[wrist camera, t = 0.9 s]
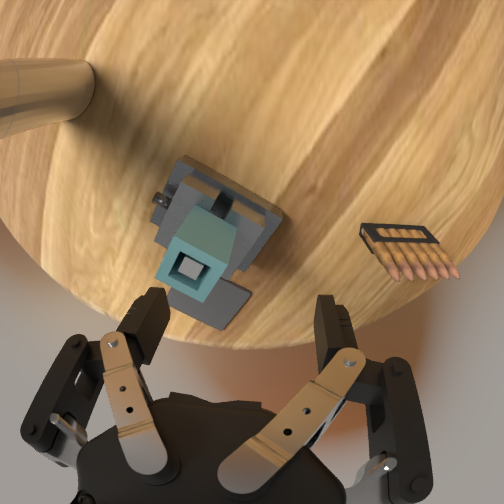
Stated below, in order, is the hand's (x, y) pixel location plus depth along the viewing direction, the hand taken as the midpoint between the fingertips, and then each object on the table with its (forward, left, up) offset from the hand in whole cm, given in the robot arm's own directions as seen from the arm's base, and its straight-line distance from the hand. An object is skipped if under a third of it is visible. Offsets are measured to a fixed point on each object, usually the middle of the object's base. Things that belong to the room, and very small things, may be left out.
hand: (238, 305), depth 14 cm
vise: (-3, -6, -22) cm, 23 cm away
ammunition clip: (+19, +5, -22) cm, 30 cm away
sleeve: (-3, -6, -15) cm, 16 cm away
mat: (+2, -20, -22) cm, 30 cm away
